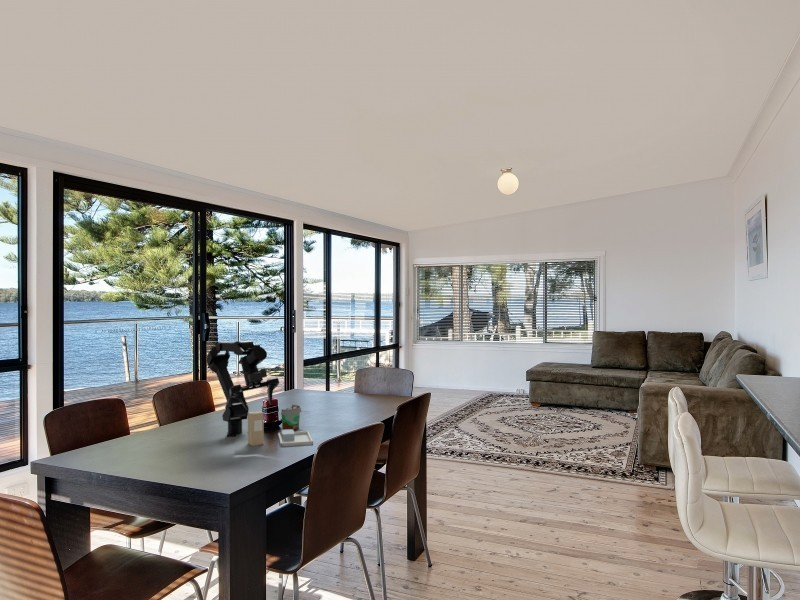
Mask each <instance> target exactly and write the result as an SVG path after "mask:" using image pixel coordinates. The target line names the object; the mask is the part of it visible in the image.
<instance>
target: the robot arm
mask: <svg viewBox="0 0 800 600" xmlns="http://www.w3.org/2000/svg"><path fill="white" fill-rule="evenodd" d="M230 352H232V353H233V354H234V355H236V356H241V357H240V359H239V360H238V365H241V369H242V373H243V377H244V382H245V385H243V386H242V385H241V384H234V382H233V380H232V377H231V375H230V372H229V368H228V366H229V359H230V358H231V355H230ZM267 357H268V352H267V351H266V349H265V348H264V347H262V346H261V344H259V343H258V344H255V343H254V341H253V340H237V341H233V342H230V341H219V342H217V343H216V344H215V346H214V347H213V348H212V349H210V351H209V352H208V354H207V356H206V364H207V366H208V368H209V370H211V371H212V372H213V373H215V374H216V377H217V379H218V381H219V385H220V386H221V389H222V392H223V394H224V397H225V400H226V404H225V406H224V407H225V409H224V412H223V413H222V414H221V415H222V416H221V417H222V420H223V422H226V423H227V432H226V437H228V438H229V437H236V436H238V435H241V434H243V420H248V413H249V411H250V410H249V409H250V408H249V405H248V402H247V401H246V398H245V395H244V392H247V391H251V390H256V389H257V390H258V389H260V388H261V389H262V388H265V387H266V388H267V390H266V392H267V399H268V403H269V405H270V406H271V405H272V403H273V393H274V390H275V389H276V388H277V387H278V386H279V384H280V380H279V378H278V377H277V376H274V377H268V378H267V376H268V374H267V370H266V368H263V369H259V368H258V365H260V364H261V363H262V362H263V361H264V360H265V359H267ZM264 378H267V380H266V381H264Z"/></svg>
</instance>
